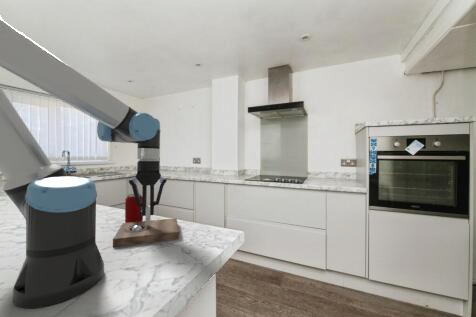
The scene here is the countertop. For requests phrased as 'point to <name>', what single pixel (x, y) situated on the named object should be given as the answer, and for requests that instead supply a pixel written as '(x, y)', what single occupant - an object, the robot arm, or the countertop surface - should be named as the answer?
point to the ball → (136, 228)
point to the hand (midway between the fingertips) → (148, 224)
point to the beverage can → (132, 209)
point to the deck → (146, 232)
